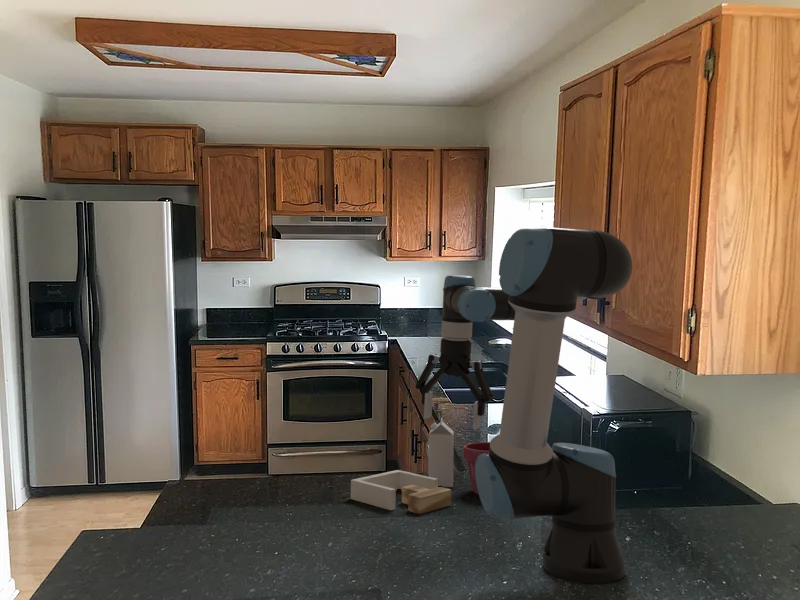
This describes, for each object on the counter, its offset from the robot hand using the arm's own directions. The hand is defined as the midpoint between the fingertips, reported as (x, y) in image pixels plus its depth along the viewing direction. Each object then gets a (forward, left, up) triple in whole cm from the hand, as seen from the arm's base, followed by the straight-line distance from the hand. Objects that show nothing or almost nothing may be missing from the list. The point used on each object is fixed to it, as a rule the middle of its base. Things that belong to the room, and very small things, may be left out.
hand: (451, 422), depth 161 cm
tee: (+10, 0, -22) cm, 24 cm away
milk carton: (+21, -21, -22) cm, 37 cm away
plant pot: (+6, -24, -22) cm, 33 cm away
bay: (+19, 0, -22) cm, 29 cm away
